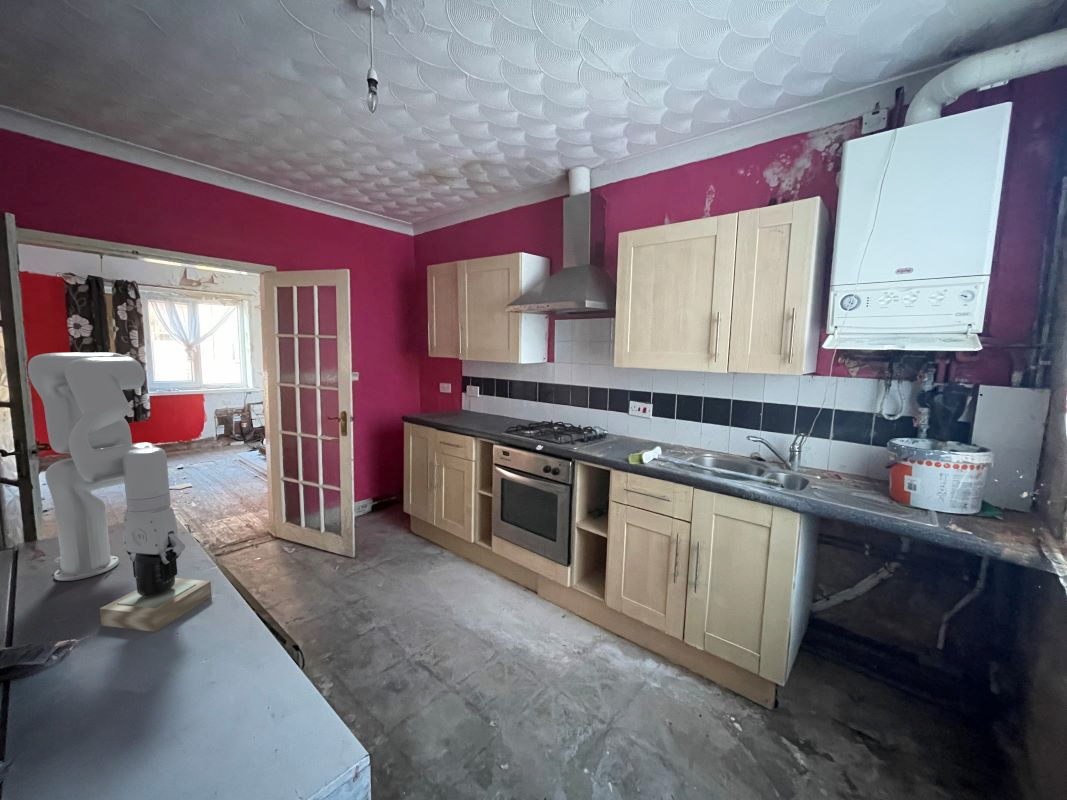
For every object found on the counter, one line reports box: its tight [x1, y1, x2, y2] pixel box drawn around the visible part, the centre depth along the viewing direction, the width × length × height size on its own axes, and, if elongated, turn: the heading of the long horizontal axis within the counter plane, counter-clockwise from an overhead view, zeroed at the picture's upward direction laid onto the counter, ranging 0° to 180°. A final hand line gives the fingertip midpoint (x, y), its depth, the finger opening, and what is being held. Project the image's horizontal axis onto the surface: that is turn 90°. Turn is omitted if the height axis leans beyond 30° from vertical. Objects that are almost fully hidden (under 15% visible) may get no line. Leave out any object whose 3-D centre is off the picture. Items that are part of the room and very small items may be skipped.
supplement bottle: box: [134, 547, 176, 596], centre depth 103 cm, size 7×7×12 cm
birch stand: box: [99, 577, 213, 633], centre depth 104 cm, size 14×14×4 cm
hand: (156, 575), depth 103 cm, fingers closed on supplement bottle, 6 cm apart
